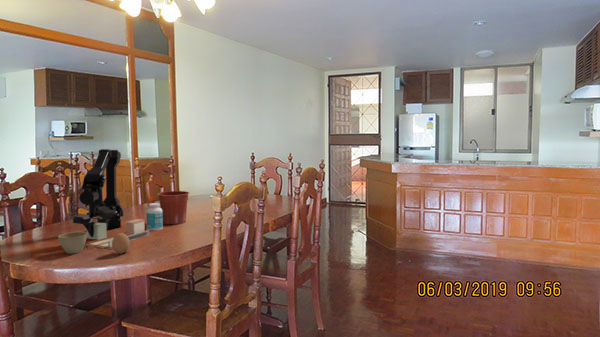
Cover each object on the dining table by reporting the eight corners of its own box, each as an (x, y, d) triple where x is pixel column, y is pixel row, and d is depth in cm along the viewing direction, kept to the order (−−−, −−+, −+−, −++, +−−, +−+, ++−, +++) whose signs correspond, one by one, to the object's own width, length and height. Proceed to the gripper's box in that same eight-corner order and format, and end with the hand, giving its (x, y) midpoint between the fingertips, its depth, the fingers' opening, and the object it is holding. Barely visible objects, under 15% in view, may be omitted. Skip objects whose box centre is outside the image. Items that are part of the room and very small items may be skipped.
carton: (125, 237, 179) (125, 221, 178) (137, 233, 185) (137, 219, 185) (133, 238, 177) (133, 222, 177) (145, 234, 184) (144, 219, 183)
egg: (132, 251, 161) (132, 231, 161) (126, 255, 155) (125, 235, 154) (116, 251, 161) (115, 231, 161) (109, 255, 155) (108, 235, 154)
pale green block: (98, 240, 175) (97, 225, 174) (86, 239, 177) (86, 223, 177) (107, 238, 179) (106, 223, 178) (95, 236, 182) (95, 221, 181)
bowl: (66, 249, 164) (66, 231, 164) (92, 248, 165) (91, 231, 165) (54, 256, 154) (53, 237, 154) (80, 255, 155) (80, 237, 155)
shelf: (89, 246, 168) (88, 238, 167) (129, 235, 188) (129, 227, 188) (110, 249, 163) (110, 241, 163) (150, 237, 183) (149, 230, 183)
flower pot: (184, 225, 208) (183, 195, 207) (153, 225, 208) (152, 195, 207) (193, 219, 224) (193, 191, 223) (164, 219, 225) (163, 190, 224)
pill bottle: (157, 233, 192) (156, 205, 191) (143, 232, 193) (142, 204, 192) (165, 229, 199) (165, 202, 198) (152, 229, 200) (151, 202, 199)
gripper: (90, 205, 165) (91, 242, 166) (125, 199, 182) (126, 232, 184) (71, 203, 169) (73, 239, 171) (107, 197, 187) (109, 230, 188)
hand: (96, 235), depth 178 cm, fingers closed on pale green block, 5 cm apart
